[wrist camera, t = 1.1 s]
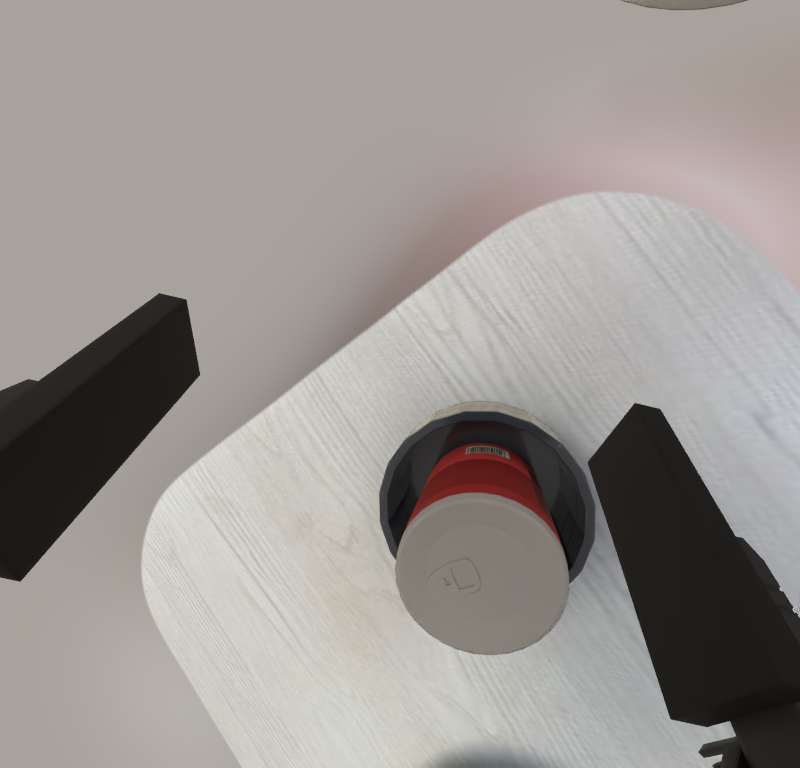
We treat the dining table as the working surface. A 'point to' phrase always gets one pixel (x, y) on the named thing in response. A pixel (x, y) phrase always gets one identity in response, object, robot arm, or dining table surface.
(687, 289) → the dining table surface
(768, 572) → the robot arm
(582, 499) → the dark grey round dish
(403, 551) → the canned food
